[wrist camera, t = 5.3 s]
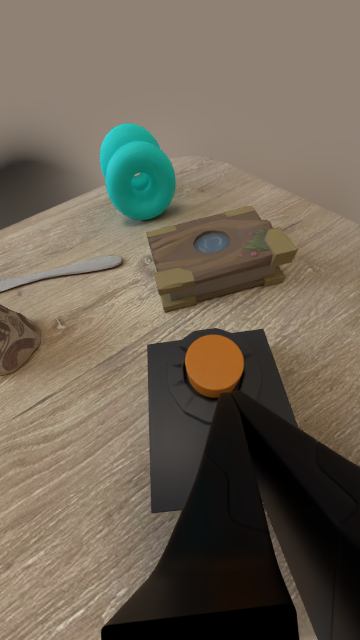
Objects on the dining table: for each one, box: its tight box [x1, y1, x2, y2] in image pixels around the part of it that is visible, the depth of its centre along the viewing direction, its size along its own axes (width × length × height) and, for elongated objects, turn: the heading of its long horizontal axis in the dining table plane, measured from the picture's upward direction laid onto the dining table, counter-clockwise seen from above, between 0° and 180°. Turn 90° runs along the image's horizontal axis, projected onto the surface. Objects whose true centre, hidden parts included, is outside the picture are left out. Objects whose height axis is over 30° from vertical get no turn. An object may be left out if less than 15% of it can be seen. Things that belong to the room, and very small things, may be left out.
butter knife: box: [0, 255, 122, 292], centre depth 29 cm, size 1×27×3 cm
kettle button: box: [185, 335, 244, 398], centre depth 14 cm, size 4×4×2 cm
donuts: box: [100, 123, 176, 220], centre depth 32 cm, size 10×10×10 cm
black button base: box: [147, 328, 298, 513], centre depth 16 cm, size 11×10×6 cm
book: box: [146, 206, 298, 312], centre depth 26 cm, size 15×11×5 cm
